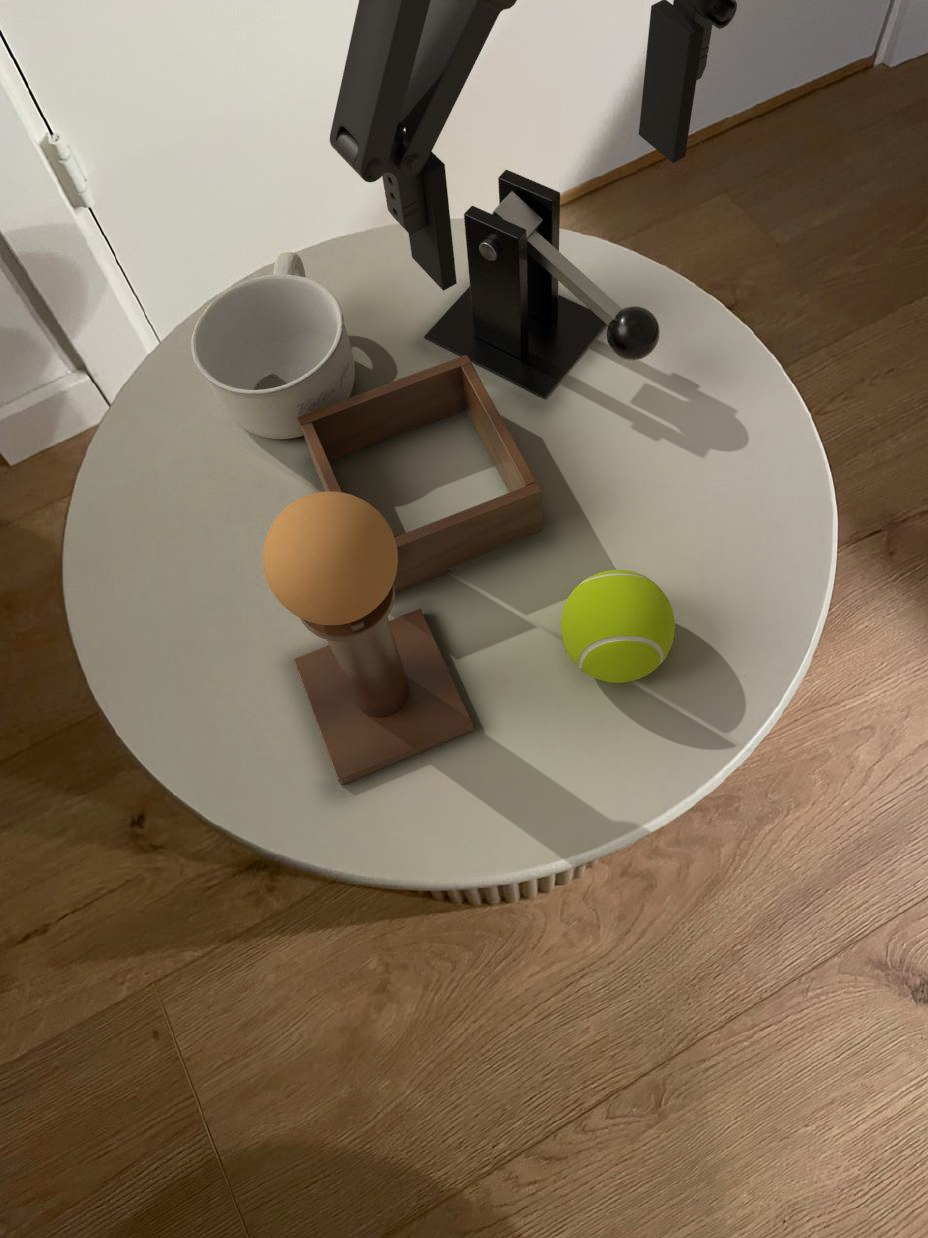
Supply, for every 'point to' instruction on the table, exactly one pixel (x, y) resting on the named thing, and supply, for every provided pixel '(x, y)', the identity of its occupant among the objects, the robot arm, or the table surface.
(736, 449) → the table surface
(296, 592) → the cork ball
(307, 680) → the stand
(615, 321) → the lever
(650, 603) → the tennis ball
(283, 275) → the teacup
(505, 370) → the bracket
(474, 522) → the bin
